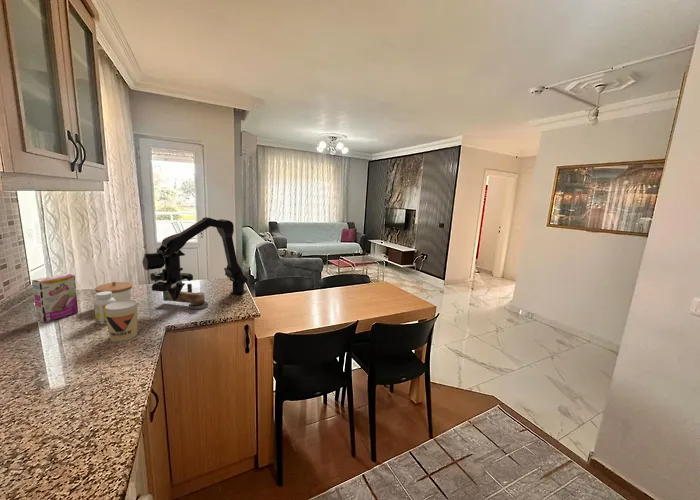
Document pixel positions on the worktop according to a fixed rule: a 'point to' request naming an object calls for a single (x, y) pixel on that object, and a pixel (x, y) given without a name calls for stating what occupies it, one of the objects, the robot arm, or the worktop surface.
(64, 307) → the candy bar box
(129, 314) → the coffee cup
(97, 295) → the pill bottle
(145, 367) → the worktop surface
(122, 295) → the lidded bowl
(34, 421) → the worktop surface
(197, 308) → the dark grey pieces
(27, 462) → the worktop surface
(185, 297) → the capstan lever
